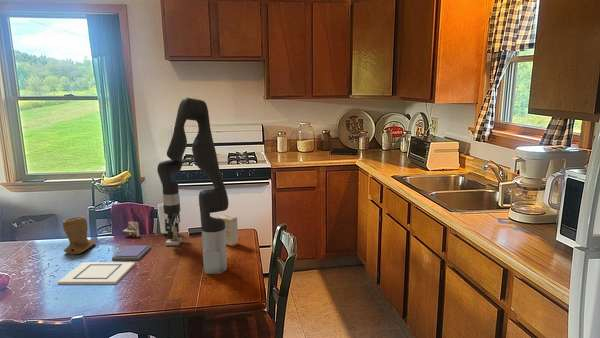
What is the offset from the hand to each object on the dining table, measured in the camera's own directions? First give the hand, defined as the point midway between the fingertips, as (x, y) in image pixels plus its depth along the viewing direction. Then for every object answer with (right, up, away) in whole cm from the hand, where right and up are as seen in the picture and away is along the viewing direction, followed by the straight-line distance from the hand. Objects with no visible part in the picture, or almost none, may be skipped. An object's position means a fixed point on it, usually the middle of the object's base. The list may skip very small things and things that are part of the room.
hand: (173, 235), depth 198 cm
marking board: (-20, -10, -31) cm, 39 cm away
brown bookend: (-42, -6, -5) cm, 43 cm away
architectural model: (-24, -3, +12) cm, 27 cm away
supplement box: (+26, -4, 0) cm, 26 cm away
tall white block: (-9, -1, +16) cm, 19 cm away
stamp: (0, -4, +1) cm, 4 cm away
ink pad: (-15, -6, -11) cm, 20 cm away
